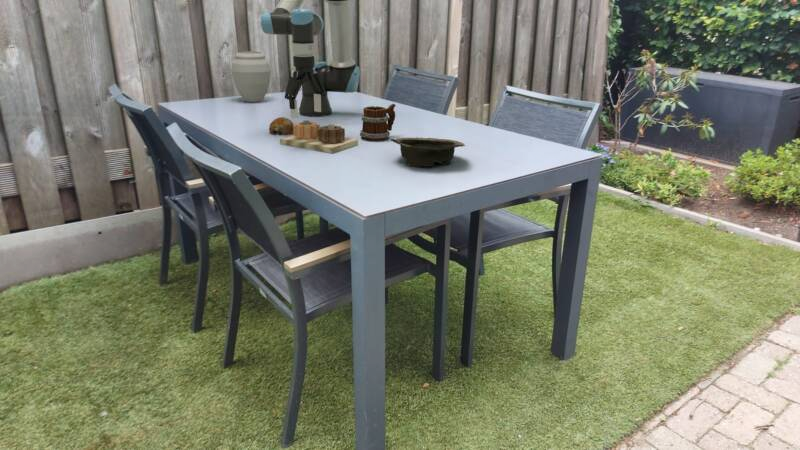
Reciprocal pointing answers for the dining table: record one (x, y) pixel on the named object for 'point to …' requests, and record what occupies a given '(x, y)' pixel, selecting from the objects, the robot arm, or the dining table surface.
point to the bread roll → (281, 126)
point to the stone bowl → (427, 150)
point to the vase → (251, 75)
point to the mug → (377, 123)
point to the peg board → (323, 140)
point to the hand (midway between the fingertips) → (306, 114)
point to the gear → (306, 130)
